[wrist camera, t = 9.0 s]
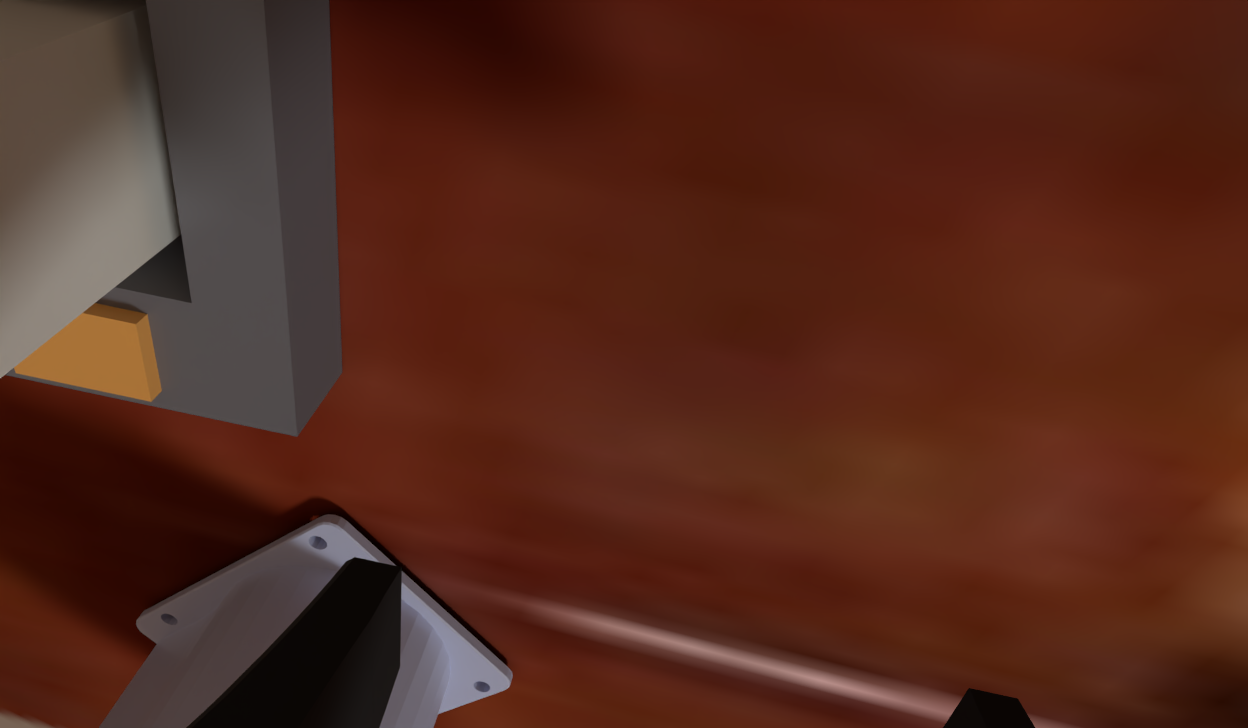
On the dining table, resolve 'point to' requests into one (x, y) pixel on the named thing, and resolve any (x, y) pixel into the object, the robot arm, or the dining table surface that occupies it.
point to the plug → (76, 162)
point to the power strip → (228, 229)
